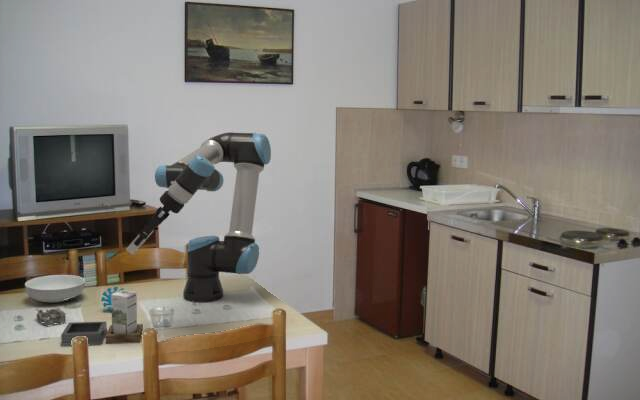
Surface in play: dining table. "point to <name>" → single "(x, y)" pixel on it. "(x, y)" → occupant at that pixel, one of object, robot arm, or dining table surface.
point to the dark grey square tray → (85, 332)
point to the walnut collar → (124, 336)
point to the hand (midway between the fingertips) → (134, 247)
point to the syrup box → (124, 312)
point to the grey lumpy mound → (51, 316)
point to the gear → (109, 297)
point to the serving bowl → (54, 287)
